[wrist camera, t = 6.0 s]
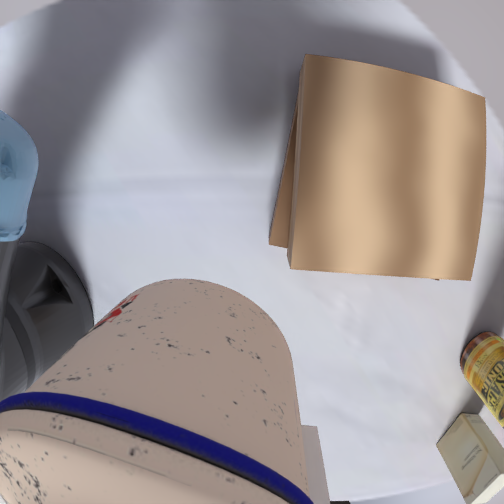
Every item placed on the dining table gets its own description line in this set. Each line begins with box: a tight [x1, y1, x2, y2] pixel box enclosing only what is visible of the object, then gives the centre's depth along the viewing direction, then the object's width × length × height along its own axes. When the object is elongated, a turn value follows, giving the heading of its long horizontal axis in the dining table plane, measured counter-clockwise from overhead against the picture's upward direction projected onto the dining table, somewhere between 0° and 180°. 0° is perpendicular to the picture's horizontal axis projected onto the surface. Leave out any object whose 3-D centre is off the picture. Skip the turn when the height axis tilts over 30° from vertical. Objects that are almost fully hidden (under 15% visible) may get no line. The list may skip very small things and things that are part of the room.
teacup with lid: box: [0, 279, 314, 504], centre depth 8 cm, size 12×9×12 cm
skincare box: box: [436, 413, 504, 504], centre depth 26 cm, size 6×4×12 cm
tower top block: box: [287, 54, 486, 281], centre depth 21 cm, size 14×14×4 cm
